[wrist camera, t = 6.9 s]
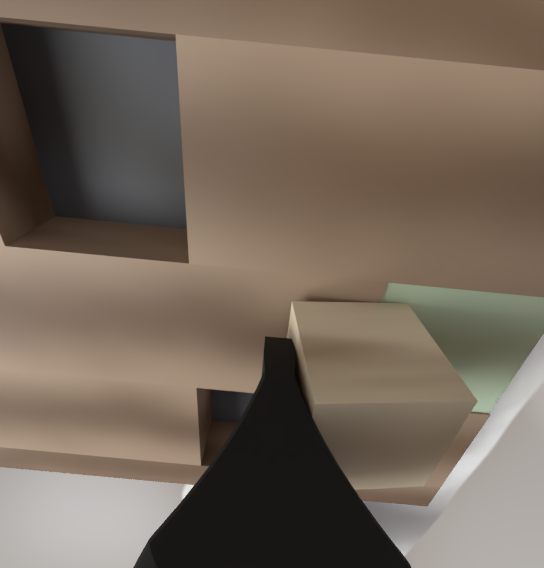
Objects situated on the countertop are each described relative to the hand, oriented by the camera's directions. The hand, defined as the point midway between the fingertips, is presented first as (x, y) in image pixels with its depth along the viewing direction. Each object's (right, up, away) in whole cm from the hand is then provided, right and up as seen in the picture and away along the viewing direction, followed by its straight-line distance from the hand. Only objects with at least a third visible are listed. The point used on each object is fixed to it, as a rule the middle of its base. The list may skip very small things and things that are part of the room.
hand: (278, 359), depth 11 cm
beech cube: (+2, 0, +1) cm, 2 cm away
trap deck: (-5, +3, +4) cm, 7 cm away
